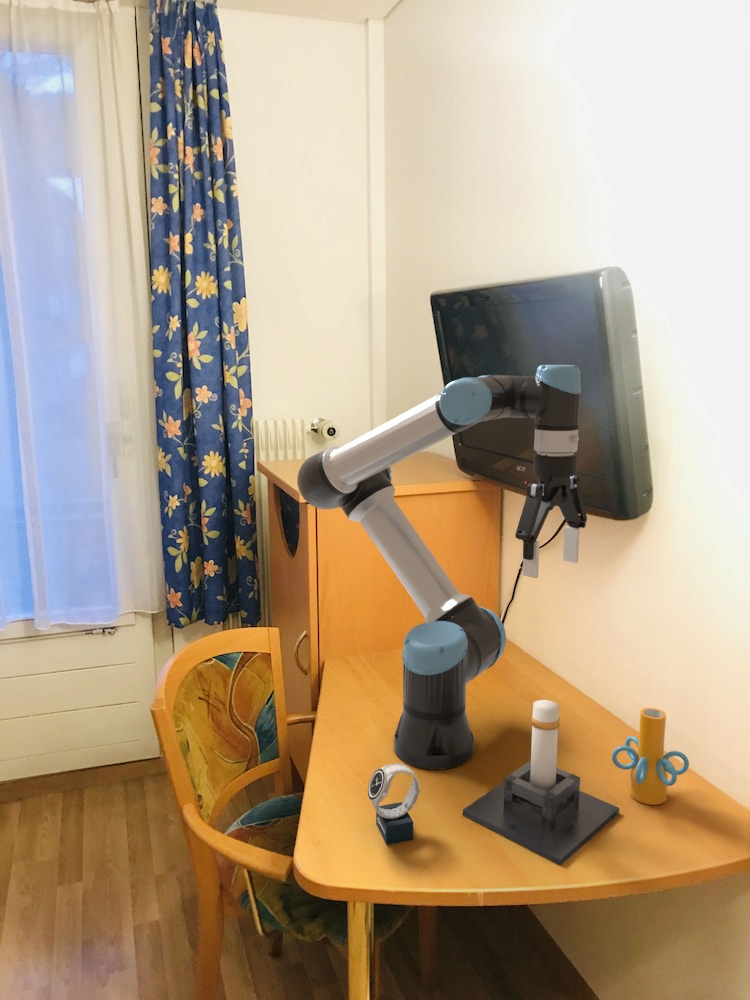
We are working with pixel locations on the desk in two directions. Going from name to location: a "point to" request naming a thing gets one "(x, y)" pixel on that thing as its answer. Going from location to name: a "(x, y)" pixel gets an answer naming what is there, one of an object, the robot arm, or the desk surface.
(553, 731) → the tube
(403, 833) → the watch
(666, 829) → the desk surface
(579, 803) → the collar stand
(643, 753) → the yellow ring vase
